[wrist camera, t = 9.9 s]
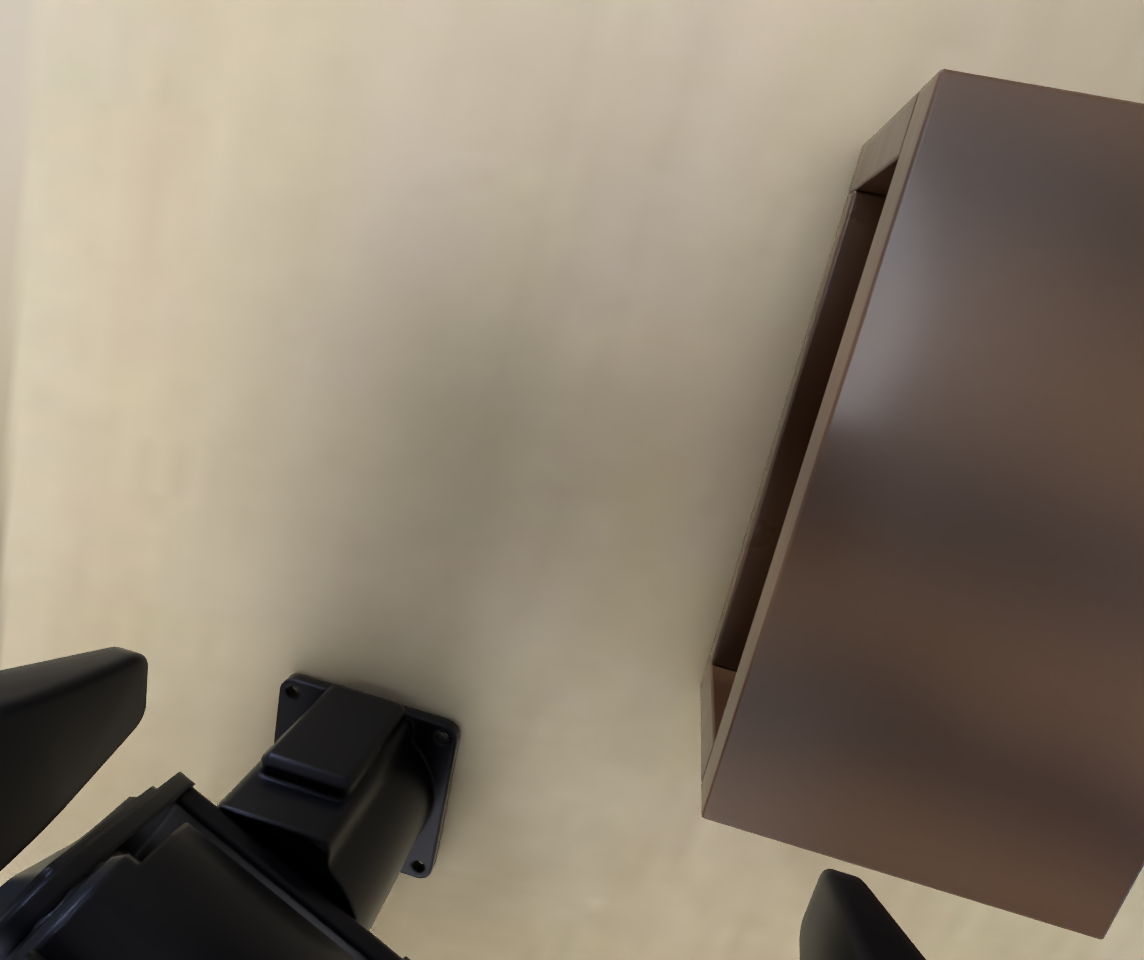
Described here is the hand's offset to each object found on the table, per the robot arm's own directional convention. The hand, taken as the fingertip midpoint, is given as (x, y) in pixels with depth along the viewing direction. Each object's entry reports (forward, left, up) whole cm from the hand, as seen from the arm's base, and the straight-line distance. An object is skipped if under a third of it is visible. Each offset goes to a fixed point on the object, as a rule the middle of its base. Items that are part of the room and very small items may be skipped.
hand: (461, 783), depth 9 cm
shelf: (+3, -9, -13) cm, 16 cm away
